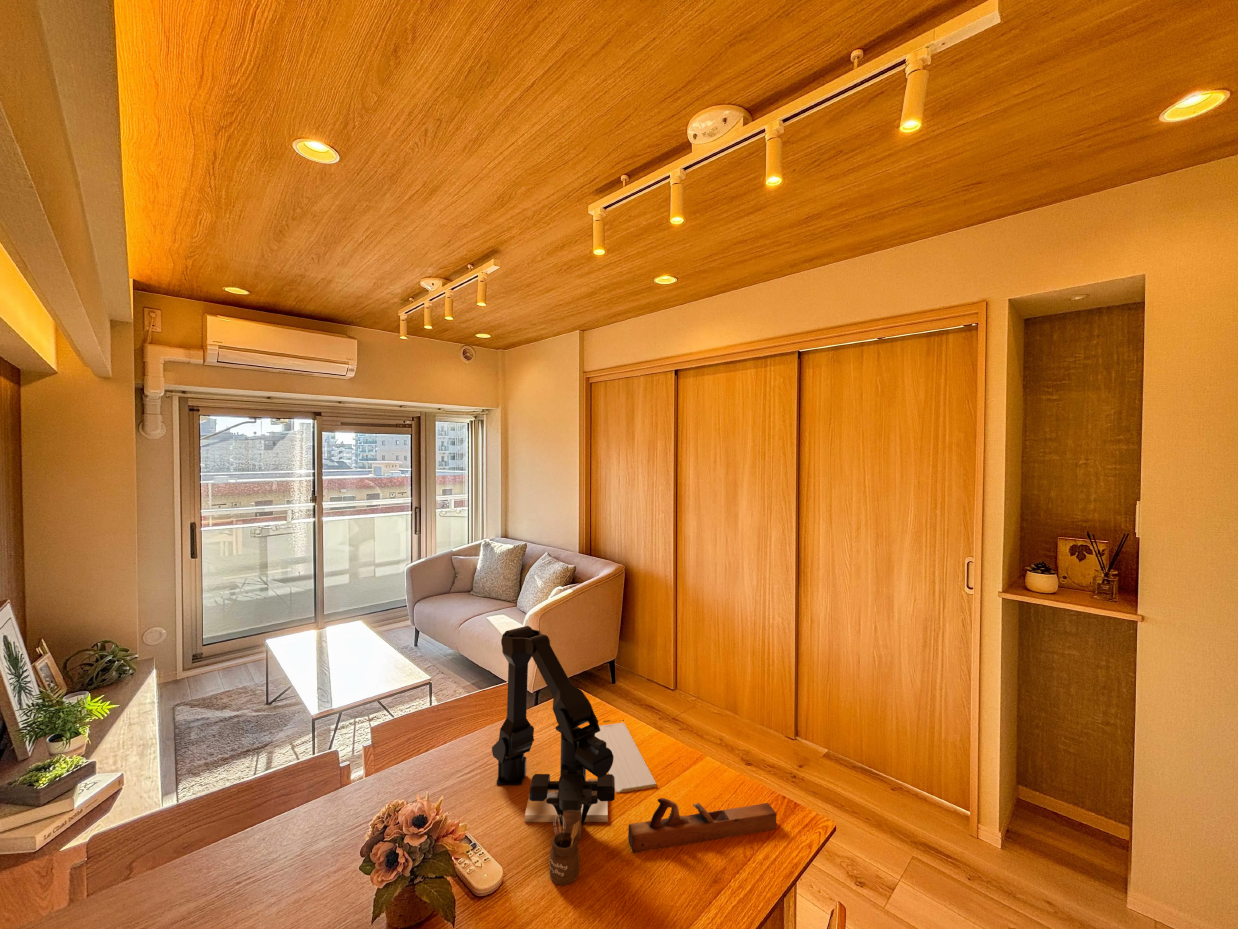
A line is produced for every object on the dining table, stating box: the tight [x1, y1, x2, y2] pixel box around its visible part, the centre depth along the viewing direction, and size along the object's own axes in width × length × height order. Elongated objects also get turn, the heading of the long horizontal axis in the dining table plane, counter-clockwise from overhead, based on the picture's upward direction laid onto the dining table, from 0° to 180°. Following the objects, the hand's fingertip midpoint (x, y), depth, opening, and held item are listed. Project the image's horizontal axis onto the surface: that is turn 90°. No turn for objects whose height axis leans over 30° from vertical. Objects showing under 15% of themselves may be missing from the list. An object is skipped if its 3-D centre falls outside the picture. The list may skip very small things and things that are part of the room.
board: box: [524, 797, 609, 823], centre depth 124 cm, size 19×9×2 cm, turn 92°
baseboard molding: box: [595, 719, 657, 794], centre depth 146 cm, size 31×3×12 cm
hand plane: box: [627, 797, 777, 854], centre depth 116 cm, size 34×5×10 cm, turn 106°
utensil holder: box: [549, 814, 580, 886], centre depth 105 cm, size 6×6×12 cm
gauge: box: [562, 809, 582, 840], centre depth 121 cm, size 4×13×6 cm, turn 4°
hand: (572, 824), depth 117 cm, fingers closed on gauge, 4 cm apart
